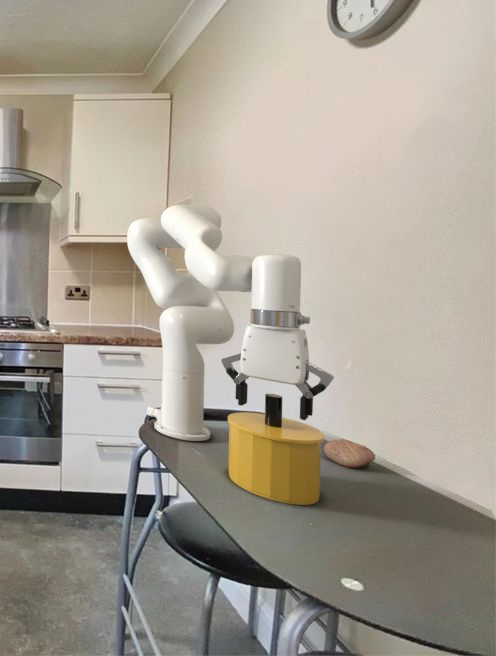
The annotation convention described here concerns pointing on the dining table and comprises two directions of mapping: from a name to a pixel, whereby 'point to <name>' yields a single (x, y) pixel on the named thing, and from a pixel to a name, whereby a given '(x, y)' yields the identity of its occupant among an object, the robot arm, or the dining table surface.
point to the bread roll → (348, 453)
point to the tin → (275, 467)
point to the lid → (275, 424)
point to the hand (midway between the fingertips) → (271, 411)
